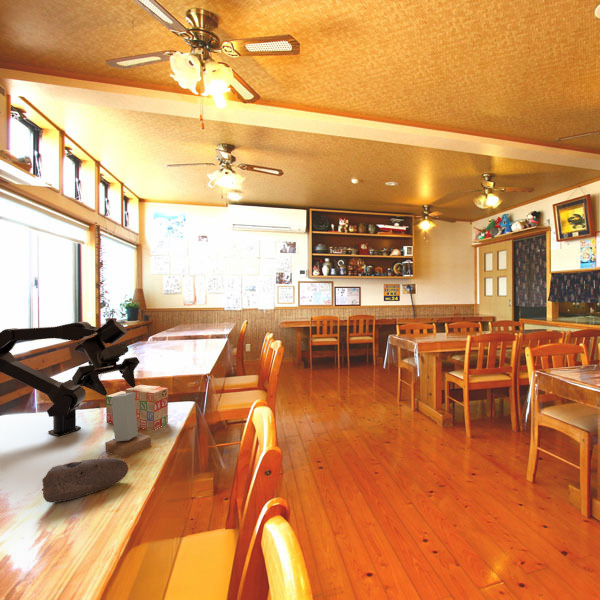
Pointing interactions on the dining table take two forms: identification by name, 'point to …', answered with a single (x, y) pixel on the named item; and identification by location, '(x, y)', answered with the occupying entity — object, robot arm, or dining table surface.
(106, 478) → the perforated stone tool
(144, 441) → the base block
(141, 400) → the stack of blocks
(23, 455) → the dining table surface
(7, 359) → the robot arm
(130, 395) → the column
